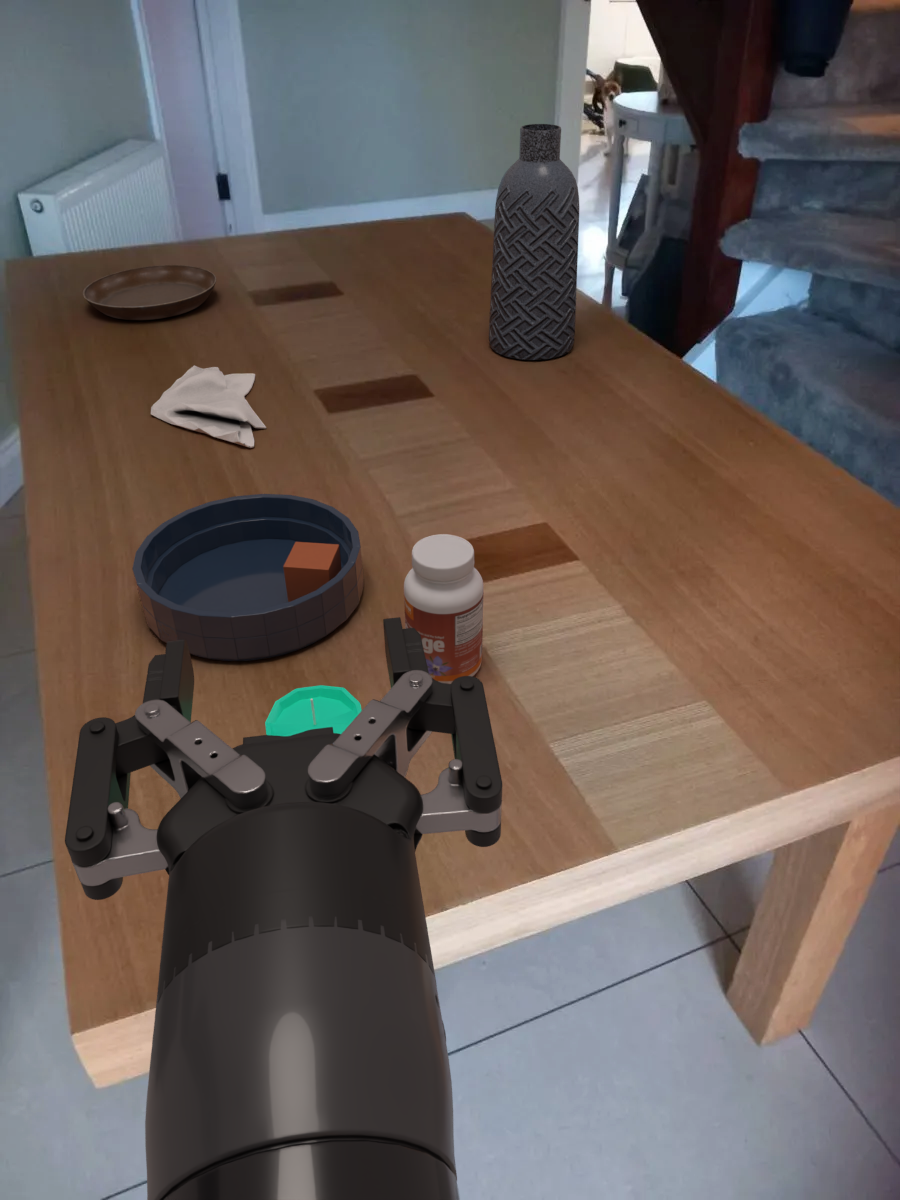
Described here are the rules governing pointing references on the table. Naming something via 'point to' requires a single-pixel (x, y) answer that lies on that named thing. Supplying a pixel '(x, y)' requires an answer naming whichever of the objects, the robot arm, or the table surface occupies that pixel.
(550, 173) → the vase
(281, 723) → the candle
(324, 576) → the block
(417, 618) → the pill bottle
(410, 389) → the table surface
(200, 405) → the cloth
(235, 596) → the bowl
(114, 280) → the plant saucer
